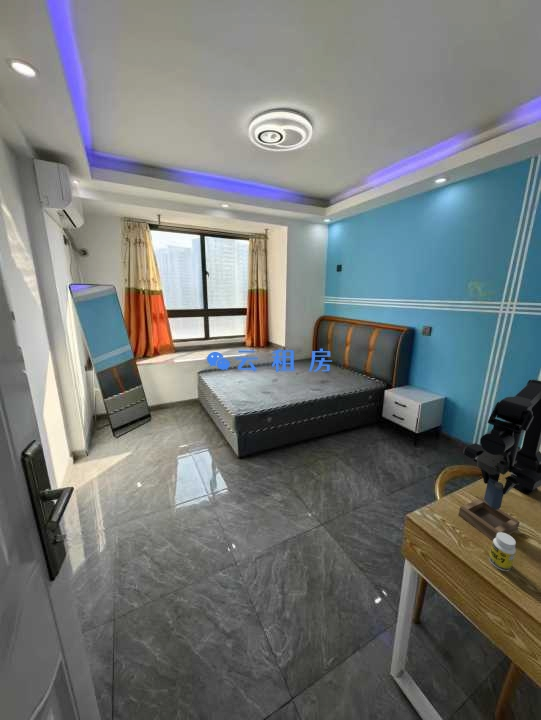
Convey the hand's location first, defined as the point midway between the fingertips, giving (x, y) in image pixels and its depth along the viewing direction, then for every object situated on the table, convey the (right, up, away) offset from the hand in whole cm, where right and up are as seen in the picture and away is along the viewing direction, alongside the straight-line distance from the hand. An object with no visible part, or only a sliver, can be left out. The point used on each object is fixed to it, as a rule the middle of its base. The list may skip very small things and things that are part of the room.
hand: (494, 488), depth 88 cm
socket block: (0, -12, +3) cm, 12 cm away
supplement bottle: (-7, -16, -10) cm, 20 cm away
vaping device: (0, -6, +1) cm, 6 cm away
